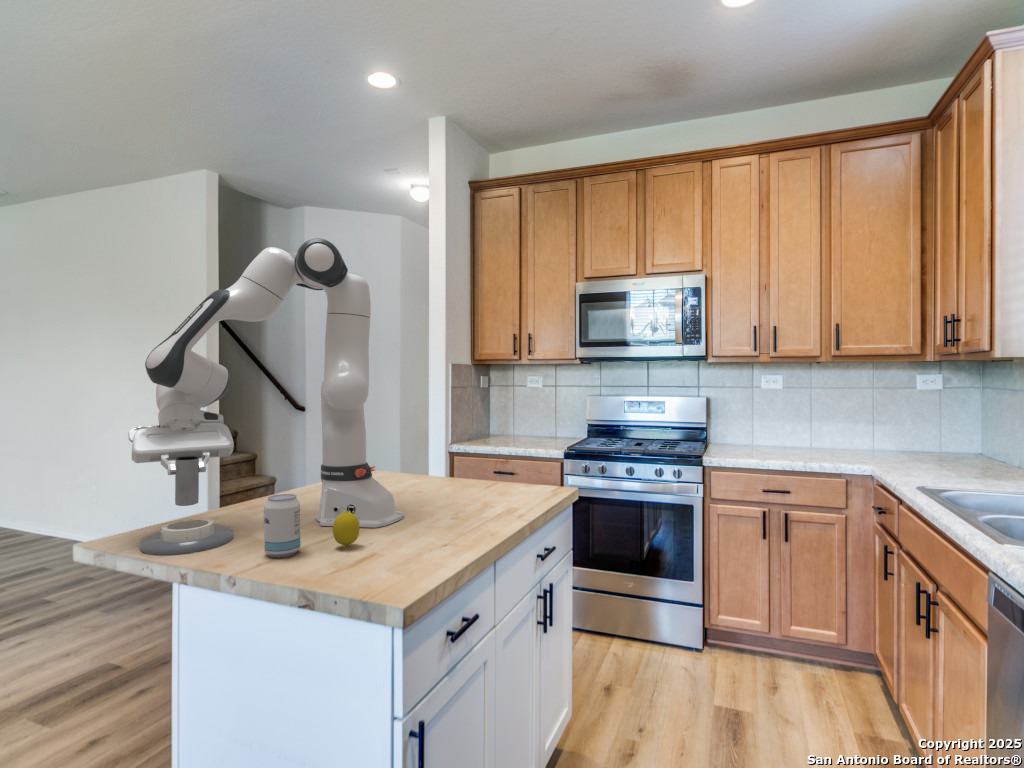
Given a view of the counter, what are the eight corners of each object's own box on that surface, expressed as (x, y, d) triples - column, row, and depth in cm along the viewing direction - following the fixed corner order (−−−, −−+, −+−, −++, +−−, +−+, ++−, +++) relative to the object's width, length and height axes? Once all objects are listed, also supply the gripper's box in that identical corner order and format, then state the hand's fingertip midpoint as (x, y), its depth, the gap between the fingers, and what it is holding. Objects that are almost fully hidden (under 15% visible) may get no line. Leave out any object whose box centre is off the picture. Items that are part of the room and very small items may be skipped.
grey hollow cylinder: (174, 502, 127) (174, 457, 126) (197, 499, 129) (197, 455, 129) (176, 507, 123) (176, 460, 122) (199, 504, 125) (200, 458, 125)
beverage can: (264, 551, 119) (264, 495, 119) (299, 547, 122) (299, 492, 122) (264, 561, 113) (263, 501, 113) (301, 556, 116) (300, 498, 115)
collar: (250, 535, 131) (250, 518, 131) (183, 558, 114) (183, 539, 114) (192, 528, 137) (192, 512, 137) (119, 550, 120) (119, 531, 120)
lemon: (352, 552, 119) (351, 514, 118) (328, 550, 120) (327, 513, 120) (364, 544, 124) (363, 508, 124) (341, 543, 125) (340, 507, 125)
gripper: (128, 418, 125) (132, 467, 117) (229, 414, 137) (238, 459, 129) (127, 436, 128) (130, 485, 121) (226, 431, 141) (234, 475, 133)
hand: (187, 471), depth 125 cm, fingers closed on grey hollow cylinder, 4 cm apart
